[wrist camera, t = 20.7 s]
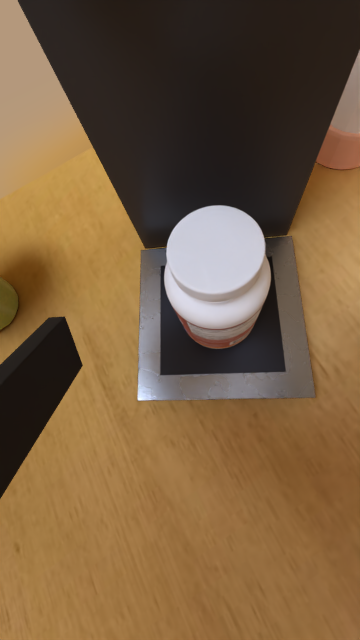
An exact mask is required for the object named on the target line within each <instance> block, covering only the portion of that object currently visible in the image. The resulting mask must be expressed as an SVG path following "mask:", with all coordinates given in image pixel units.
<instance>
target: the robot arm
mask: <svg viewBox="0 0 360 640" xmlns="http://www.w3.org/2000/svg"><path fill="white" fill-rule="evenodd" d="M82 366H83V365H82V362H81V360H80V357H79V354H78V351H77V349H76V346H75V343H74V340H73V338H72V335H71V332H70V329H69V327H68V324H67V321H66V318H65V317H51V318H48V319H47V320H46V321H45V322H44V323H43V324H42V325H41V326H40V327H39V328H38V329H37V330H36V331H35V332H34V333H33V334H32V335H31V336H29V337H28V338H27V339H26V340H25V341H24V342H23V343H22V344H21V345H20V346H19V347H18V348H17V349H16V350H15V351H14V352H13V353H12V354H11V355H10V356H9V357H8V358H7V359H6V360H5V361H4V362H3V363H2V364H1V365H0V498H1V497H2V495H3V494H4V492H5V490H6V489H7V487H8V485H9V484H10V482H11V481H12V479H13V477H14V476H15V474H16V473H17V471H18V469H19V468H20V466H21V464H22V463H23V461H24V460H25V458H26V456H27V455H28V453H29V451H30V450H31V448H32V447H33V445H34V443H35V442H36V440H37V439H38V437H39V435H40V434H41V432H42V430H43V429H44V427H45V426H46V424H47V422H48V421H49V419H50V418H51V416H52V414H53V413H54V411H55V409H56V408H57V406H58V405H59V403H60V401H61V400H62V398H63V396H64V395H65V393H66V392H67V390H68V388H69V387H70V385H71V384H72V382H73V380H74V379H75V377H76V375H77V374H78V372H79V371H80V369H81V367H82Z"/></svg>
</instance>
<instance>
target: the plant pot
mask: <svg viewBox="0 0 360 640" xmlns="http://www.w3.org/2000/svg"><path fill="white" fill-rule="evenodd" d="M17 309H18V295H17V293H16V292H15V290H14V288H13V287H12V285H11V284H9V283H8V282H7V281H5V280H4V279H3V278H1V277H0V330H1V329H2V328H4V327H5V326H7V325H8V324H10V323H11V321H12V320H13V318H14V316H15V314H16V312H17Z"/></svg>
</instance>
